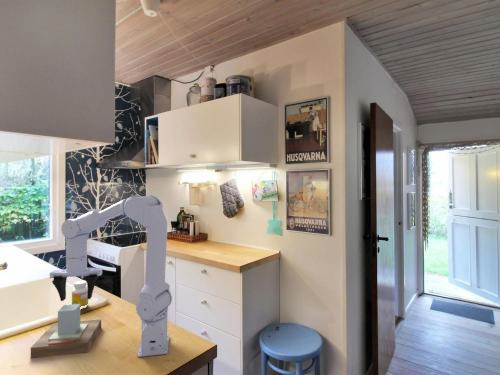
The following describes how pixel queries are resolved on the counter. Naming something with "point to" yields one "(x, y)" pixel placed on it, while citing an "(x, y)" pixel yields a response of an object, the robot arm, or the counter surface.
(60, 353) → the walnut stand
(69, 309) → the slate block
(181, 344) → the counter surface
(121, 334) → the counter surface
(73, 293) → the supplement bottle
